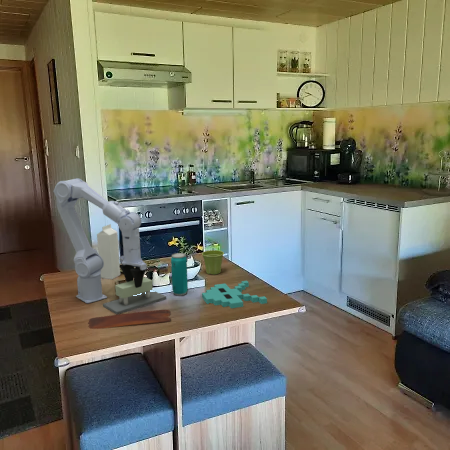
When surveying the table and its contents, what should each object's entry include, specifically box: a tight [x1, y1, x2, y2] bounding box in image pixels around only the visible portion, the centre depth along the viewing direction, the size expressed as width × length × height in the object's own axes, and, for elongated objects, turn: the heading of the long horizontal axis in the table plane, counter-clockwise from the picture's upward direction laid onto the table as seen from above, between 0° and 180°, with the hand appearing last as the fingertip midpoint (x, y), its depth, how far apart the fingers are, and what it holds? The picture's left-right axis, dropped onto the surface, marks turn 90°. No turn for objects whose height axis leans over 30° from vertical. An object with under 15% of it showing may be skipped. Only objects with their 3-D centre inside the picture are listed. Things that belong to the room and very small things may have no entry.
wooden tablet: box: [87, 309, 172, 330], centre depth 148 cm, size 27×10×2 cm, turn 101°
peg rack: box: [102, 291, 167, 315], centre depth 161 cm, size 10×20×4 cm, turn 132°
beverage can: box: [170, 252, 189, 296], centre depth 168 cm, size 6×6×15 cm
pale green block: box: [114, 276, 154, 298], centre depth 160 cm, size 12×5×4 cm, turn 133°
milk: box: [96, 223, 121, 280], centre depth 189 cm, size 6×6×22 cm
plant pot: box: [201, 249, 225, 275], centre depth 193 cm, size 9×9×9 cm
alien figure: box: [201, 280, 268, 309], centre depth 165 cm, size 20×2×20 cm
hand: (134, 285), depth 160 cm, fingers closed on pale green block, 5 cm apart
